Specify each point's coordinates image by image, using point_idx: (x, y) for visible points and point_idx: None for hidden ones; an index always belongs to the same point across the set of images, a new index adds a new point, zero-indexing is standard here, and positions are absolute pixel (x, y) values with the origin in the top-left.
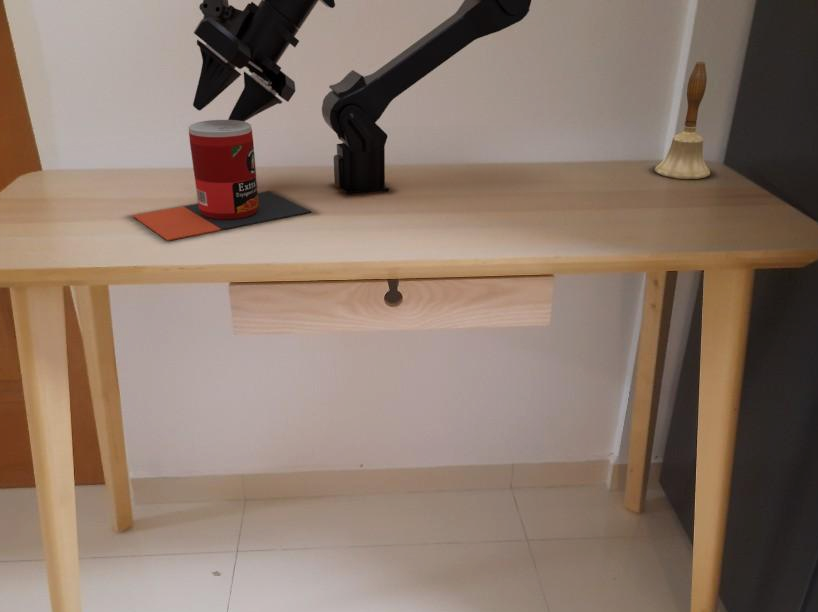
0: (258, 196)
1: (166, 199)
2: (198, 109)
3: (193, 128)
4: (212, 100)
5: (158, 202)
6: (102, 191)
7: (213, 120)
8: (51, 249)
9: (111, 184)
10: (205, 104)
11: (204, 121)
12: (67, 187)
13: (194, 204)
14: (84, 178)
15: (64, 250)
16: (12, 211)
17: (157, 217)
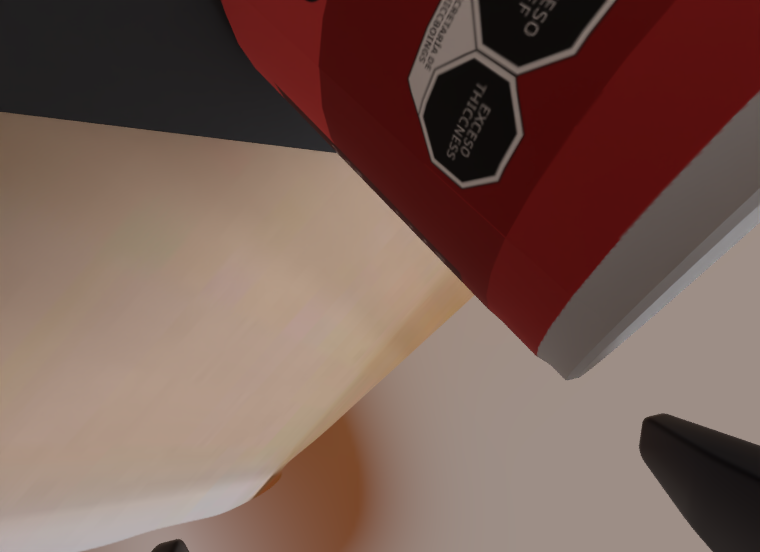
0: (5, 36)
1: (302, 256)
2: (667, 414)
3: (740, 231)
4: (751, 475)
5: (333, 241)
6: (320, 357)
7: (583, 371)
8: None
9: (274, 396)
10: (714, 439)
11: (603, 356)
12: (328, 390)
13: (322, 149)
14: (271, 434)
15: None
16: (452, 298)
17: None
